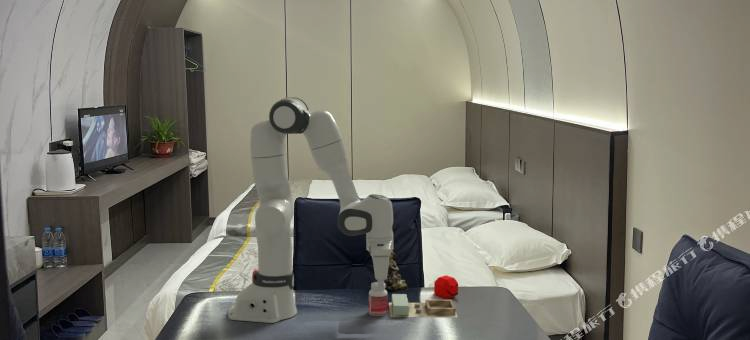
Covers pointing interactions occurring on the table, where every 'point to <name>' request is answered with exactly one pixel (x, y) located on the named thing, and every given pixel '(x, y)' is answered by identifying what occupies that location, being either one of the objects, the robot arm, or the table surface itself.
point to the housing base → (429, 309)
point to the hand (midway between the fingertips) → (380, 285)
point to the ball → (446, 287)
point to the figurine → (394, 276)
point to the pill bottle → (377, 300)
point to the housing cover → (400, 304)
